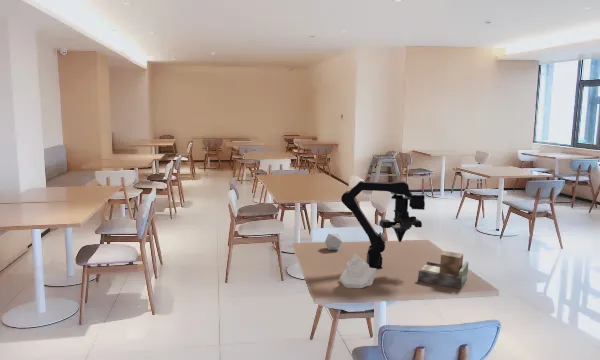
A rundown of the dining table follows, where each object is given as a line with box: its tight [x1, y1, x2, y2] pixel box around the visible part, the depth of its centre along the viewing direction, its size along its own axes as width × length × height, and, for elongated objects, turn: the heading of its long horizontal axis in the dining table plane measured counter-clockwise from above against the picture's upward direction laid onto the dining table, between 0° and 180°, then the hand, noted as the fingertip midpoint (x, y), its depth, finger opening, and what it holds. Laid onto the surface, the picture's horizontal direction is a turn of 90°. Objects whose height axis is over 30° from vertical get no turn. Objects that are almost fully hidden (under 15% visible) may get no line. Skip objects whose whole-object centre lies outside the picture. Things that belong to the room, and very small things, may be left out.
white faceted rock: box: [339, 253, 378, 289], centre depth 203 cm, size 12×15×14 cm
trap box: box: [417, 261, 469, 290], centre depth 214 cm, size 18×16×8 cm
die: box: [324, 233, 343, 251], centre depth 255 cm, size 8×9×10 cm
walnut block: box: [439, 250, 464, 276], centre depth 211 cm, size 8×7×8 cm
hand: (399, 241), depth 225 cm, fingers closed
